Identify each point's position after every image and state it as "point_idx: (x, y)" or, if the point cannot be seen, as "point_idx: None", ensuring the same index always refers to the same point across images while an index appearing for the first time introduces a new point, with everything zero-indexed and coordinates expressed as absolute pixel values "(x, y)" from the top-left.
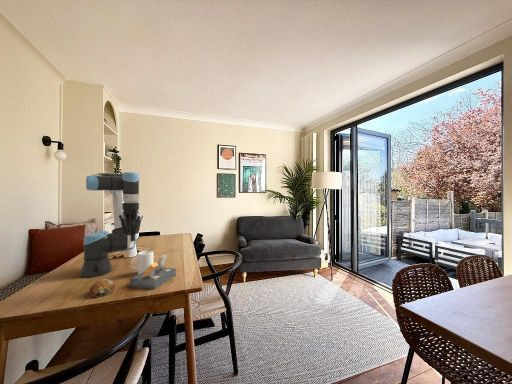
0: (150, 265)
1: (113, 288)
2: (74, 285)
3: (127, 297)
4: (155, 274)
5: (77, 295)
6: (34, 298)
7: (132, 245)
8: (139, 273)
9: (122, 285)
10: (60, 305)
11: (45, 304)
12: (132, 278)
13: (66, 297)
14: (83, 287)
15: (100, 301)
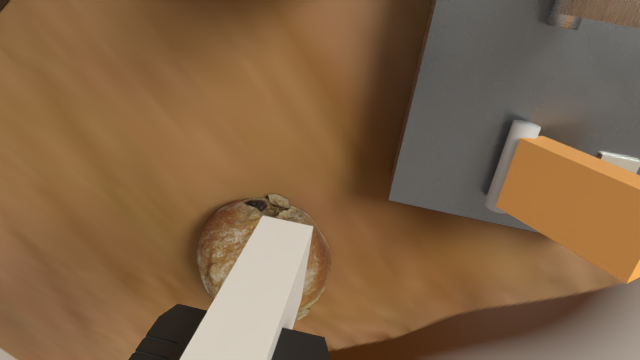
0: (617, 276)
1: (328, 259)
2: (27, 155)
3: (459, 310)
4: (583, 110)
5: (169, 273)
6: (13, 289)
7: (302, 274)
8: None
9: (323, 156)
10: None
11: (118, 340)
12: (406, 198)
13: (138, 289)
14: (105, 183)
15: (338, 337)
